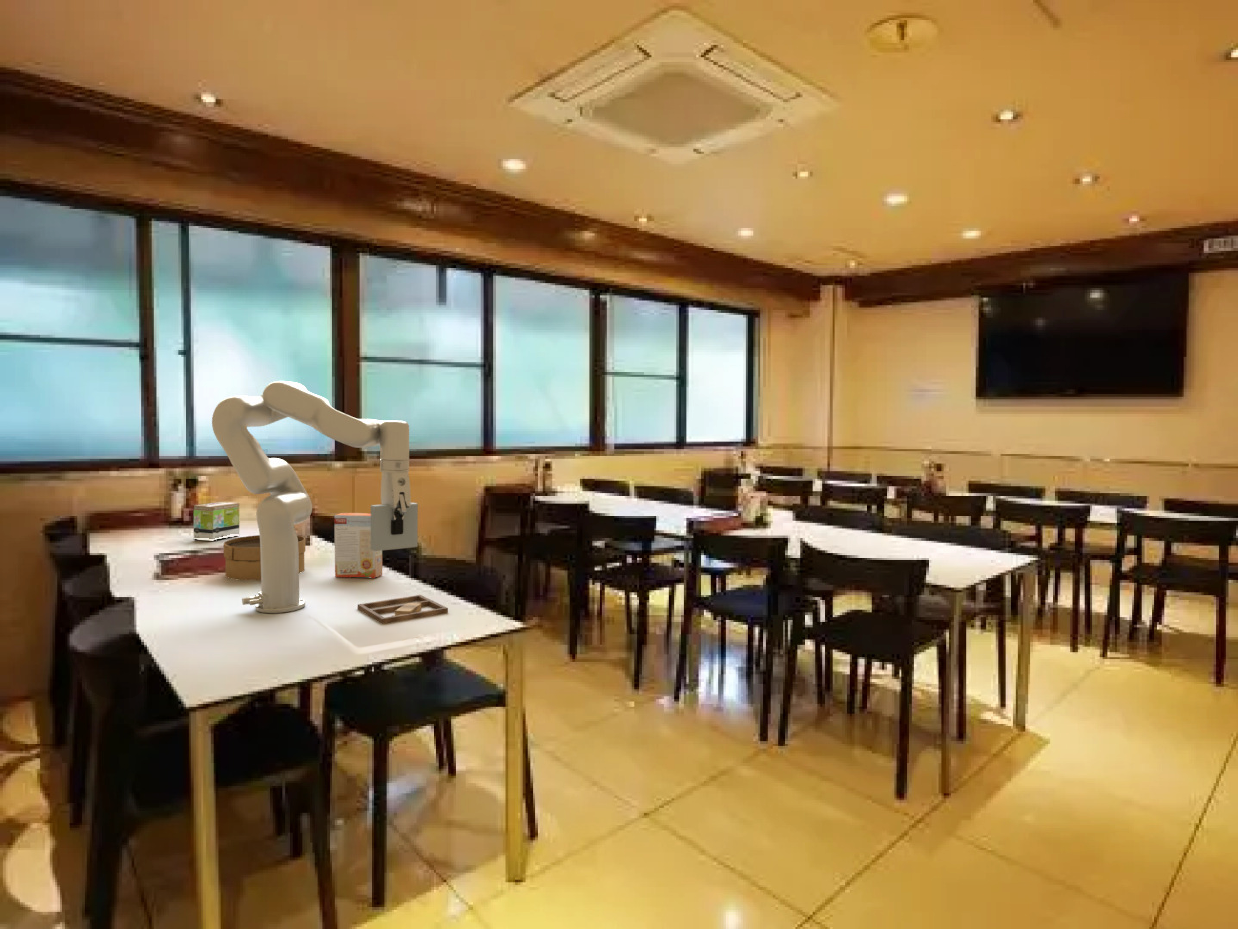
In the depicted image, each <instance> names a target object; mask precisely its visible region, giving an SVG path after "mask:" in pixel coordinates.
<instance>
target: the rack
mask: <svg viewBox="0 0 1238 929" xmlns="http://www.w3.org/2000/svg"><path fill="white" fill-rule="evenodd" d="M406 603H420V604H421V608H423V607H430V608H433V609H428V610H423V611H422V610H421V612H415V613H409V614H403V615H397V616H393V615H391V616H387V617H384V616H383V615H382V614H387V613H393V612H394V613H395V610H397V609H398V608H400V607H402V606H403V605H405V604H406ZM357 610H358V611H360V612H362V613H363V614H365V615H366V616H368V617H370V618H371V619H373V620H375V621H376V622H377V623H380V625H385V624H386V625H387V624H391V623H396V622H403V621H408V620H414V619H421V618H425V617H427V618H428V617H432V616H436V615H437V616H438V615H444V614H448V613H449V608H448V607H447V606H445V605H442V604H441V603H439V602H436V601H434V600H432V599H430V598H428V597H426V596H424V595H422V594H417V595H411V596H404V597H398V598H391V599H384V600H378V601H377V600H376V601H371V602H363V603H358V604H357Z"/></svg>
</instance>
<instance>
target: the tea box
mask: <svg viewBox="0 0 1238 929" xmlns="http://www.w3.org/2000/svg"><path fill="white" fill-rule="evenodd" d="M230 534H239V535H240V503H239V502H229V501H218V502H211V503H203V504H195V505H193V539H194V538H209V539H215V538H219V537H223V536H227V535H230Z"/></svg>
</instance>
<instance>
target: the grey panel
mask: <svg viewBox="0 0 1238 929" xmlns="http://www.w3.org/2000/svg"><path fill="white" fill-rule="evenodd" d="M418 507H419V503H417V502H411V506H410V507H409V508H406V512H405V513H404V519H403V534H397V535H392V534H391V520H393V519H392V508H390V507H389V505H386V504H382V503H381V504H371V505H370V514H371V550H373V551H381V550H382V551H389V550H390V551H392V550H399V549H411V548H418V538H419V536H418V528H419V525H418V524H419V523H418V522H419V520H418V519H419V518H418V516H419V514H418V513H419V509H418ZM396 508H400V507H399V506H397V507H396ZM397 511H399V510H397ZM397 511H396V512H397Z"/></svg>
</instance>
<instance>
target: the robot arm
mask: <svg viewBox="0 0 1238 929" xmlns="http://www.w3.org/2000/svg"><path fill="white" fill-rule="evenodd" d="M211 418H212V419H211V424H212V425H211V426H212V431H213V434H214V436H215V438H216V439H217V441H218V442H219V445H220V446H221V447H222V449H223V451H224V453H225V454H226V456H227V458H228V459H229V461H230V463H231V465H232V467H233V469H234V470H235V472H236V474H237V475H238V477H239V479H240V481H241V482H242V484H243V485H244V487H245V488H246V490H247V491H248V492H249V493H252V494H255V495H262V494H267V493H268V494H270V495H269V496H267V497H265V498H264V499H263V500H261V501H260V503H259V504H258V506H257V508H256V515H255V517H256V523H257V528H258V532H259V533H258V535H260V552H261V580H260V586H261V587H260V588H261V589H260V591H258V592H257V594H254V596H247V597H242V599H241V602H242V605H243V606H245V605H250V606H254V605H255V607H254V608H255V609H254V610H255V611H256V612H258V613H263V614H278V613H287V612H294V611H297V610H301V609H302V608H304V607H306V600H305V599H303V598H300V574H299V551H298V538H297V535H298V534H297V532H296V527H295V525H298V524H301V523H303V522H305V521H307V520H308V519H309V518H310V516H311V514H312V512H313V503H312V499H311V498H310V495H309V494H308V492H307V490H306V488H305V487H304V485H303V483H302V482H301V480H300V478H299V476H298V474H297V473H296V471H295V470H294V468H293V467H292V465H290V464H289V462H287V461H286V460H284V459H281V458H277V457H271V458H270V457H268V455H266V453H265V452H264V450H263V448H262V446H261V444H260V443H259V441H258V439H257V438H256V437H255V436H254V435H253V434H252V433H251V432H250V431H249V430H248V428H250V427H252V428H256V427H257V428H259V427H265V426H267V425H271V424H274V423H277V422H278V421H280V420H284V419H286V418H290V419H292V420H294V421H297V422H299V423H301V424H305V425H307V426H308V427H310V428H313V429H314V430H315V431H318V432H319V433H320V434H322V435H323V436H325V437H328V438H330V439H331V440H333V441H336V442H339V443H341V444H344V445H346V446H350V447H352V448H357V449H358V448H359V449H360V448H371V447H377V446H378V447H379V471H380V473H381V481H380V504H381V505H382V504H386V505H389V507H390V508H392V519H393V520H391V534H392V535H397V534H403V519H404V513H405V512H406V508H409V507H410V506H411V503H412V500H411V498H412V497H411V481H410V475H409V472H410V425H409V423H408V422H407V421H404V420H379V419H373V418H356V417H353V416H351V415H349V414H346V413H344V412H342V411H340V410H337V409H336V408H334V407H332V406H331V404H330V401H329V400H328V399H327V398H325V397H323V396H321V395H318V394H315V393H313V392H311V391H309V389H307V388H306V387H305V385H303V384H301V383H298V382H294V381H285V380H277V381H273V382H270V383H269V384H267V385H266V386H265V387H264V389H263V392H262V394H261V395H258V396H252V395H251V396H250V395H249V396H248V395H233V396H229V397H226V398H223V399H222V400H221V401H219V403H218V404H217V405H216V407H215V408H214V411H213V414H212V417H211ZM397 506H399V507H400V508H396V507H397ZM397 510H399V511H397ZM396 511H397V512H396Z"/></svg>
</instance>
